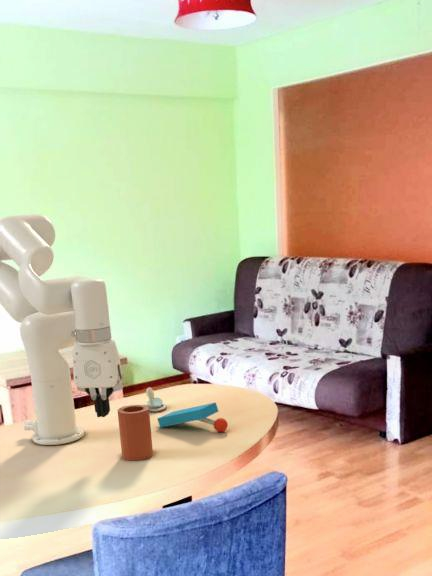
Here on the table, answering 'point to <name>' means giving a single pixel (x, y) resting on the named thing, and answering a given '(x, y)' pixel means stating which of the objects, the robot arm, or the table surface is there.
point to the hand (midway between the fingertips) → (103, 415)
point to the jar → (135, 432)
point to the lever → (194, 417)
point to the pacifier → (154, 401)
